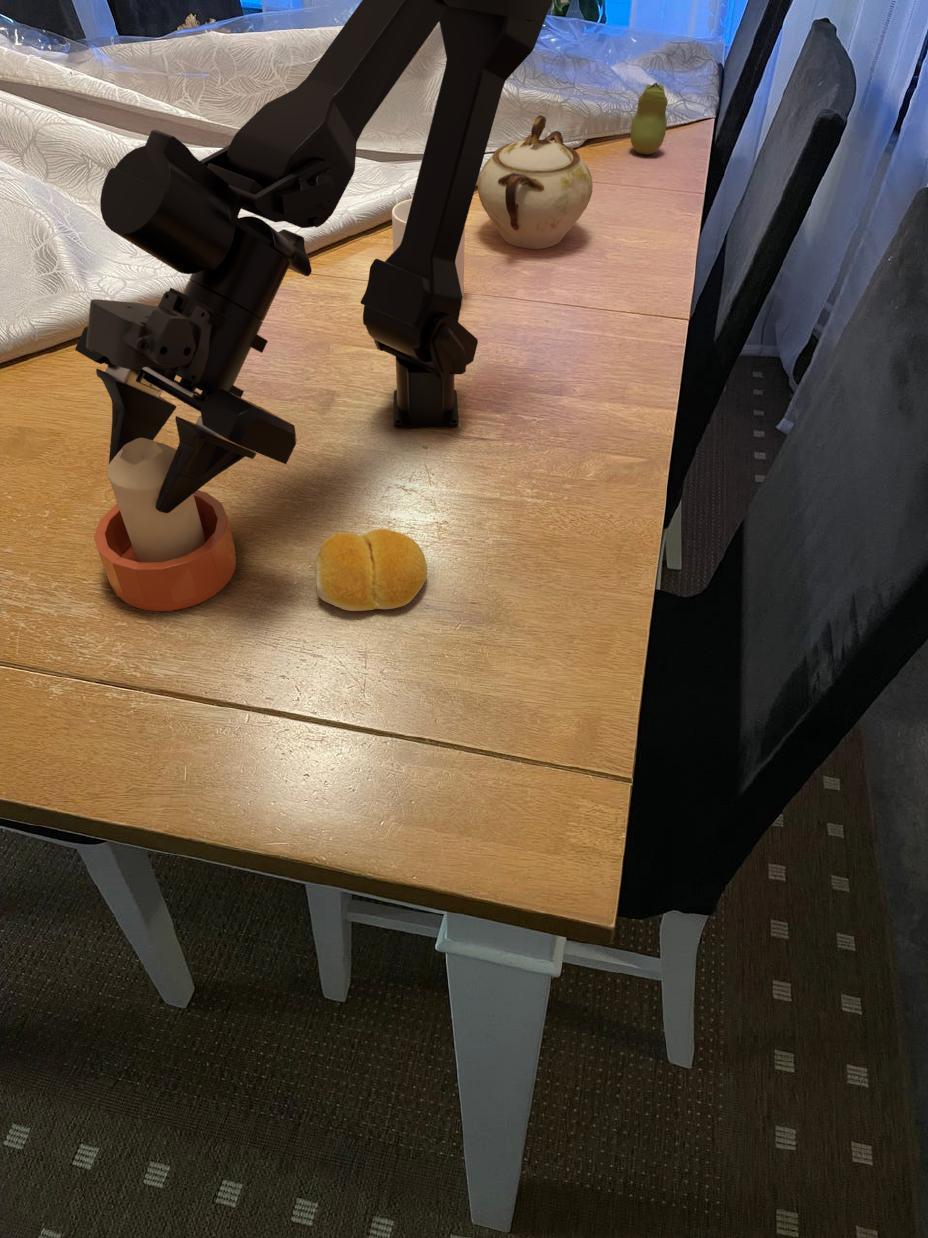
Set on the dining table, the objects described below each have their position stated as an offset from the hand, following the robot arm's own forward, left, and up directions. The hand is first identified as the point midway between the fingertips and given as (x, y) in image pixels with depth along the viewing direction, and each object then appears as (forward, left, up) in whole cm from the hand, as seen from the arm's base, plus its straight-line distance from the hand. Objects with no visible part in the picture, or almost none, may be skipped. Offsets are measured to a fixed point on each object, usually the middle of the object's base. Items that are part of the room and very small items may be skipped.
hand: (137, 495), depth 65 cm
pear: (+100, -59, -8) cm, 116 cm away
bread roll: (-1, -17, -8) cm, 19 cm away
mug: (+47, -22, -8) cm, 52 cm away
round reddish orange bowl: (+1, -1, -8) cm, 8 cm away
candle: (+1, -1, -7) cm, 7 cm away
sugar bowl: (+67, -37, -8) cm, 77 cm away
